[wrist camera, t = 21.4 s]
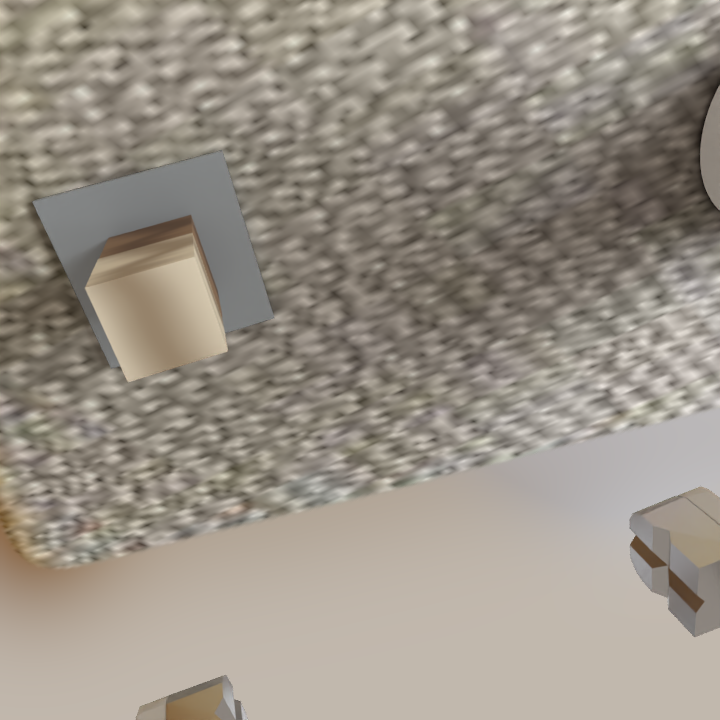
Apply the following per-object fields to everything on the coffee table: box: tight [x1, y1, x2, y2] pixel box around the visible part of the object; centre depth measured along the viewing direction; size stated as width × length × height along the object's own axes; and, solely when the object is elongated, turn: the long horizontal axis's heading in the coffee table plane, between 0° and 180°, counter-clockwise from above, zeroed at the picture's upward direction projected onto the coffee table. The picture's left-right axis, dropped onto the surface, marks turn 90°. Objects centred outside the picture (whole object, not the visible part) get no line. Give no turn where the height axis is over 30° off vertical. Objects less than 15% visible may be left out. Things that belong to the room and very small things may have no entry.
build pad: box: [33, 150, 274, 369], centre depth 37 cm, size 11×11×1 cm
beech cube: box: [85, 233, 228, 382], centre depth 31 cm, size 5×5×5 cm
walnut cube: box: [99, 215, 222, 316], centre depth 35 cm, size 5×5×5 cm
